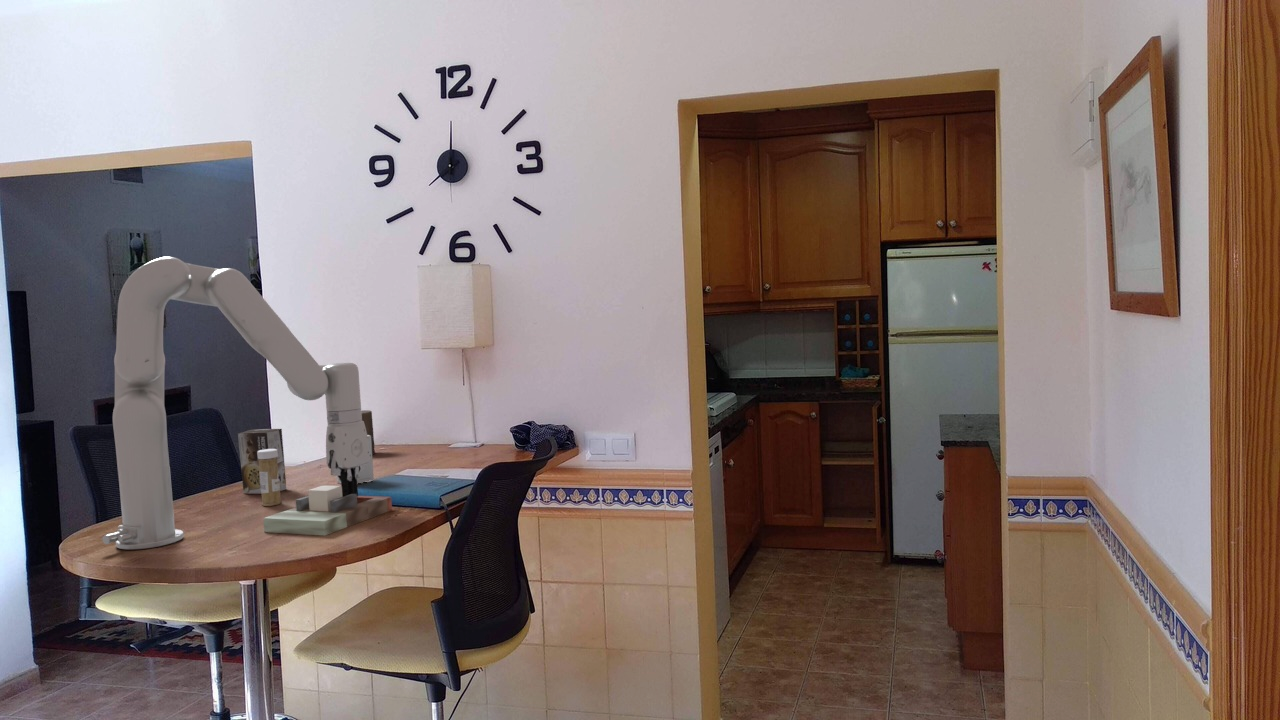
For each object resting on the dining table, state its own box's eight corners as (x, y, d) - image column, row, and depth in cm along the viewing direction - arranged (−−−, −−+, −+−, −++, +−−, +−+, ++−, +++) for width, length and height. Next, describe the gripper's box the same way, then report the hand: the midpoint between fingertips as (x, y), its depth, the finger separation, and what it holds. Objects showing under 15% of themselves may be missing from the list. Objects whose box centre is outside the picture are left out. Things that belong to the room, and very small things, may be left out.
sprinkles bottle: (283, 504, 229) (279, 449, 228) (263, 507, 226) (259, 452, 225) (279, 501, 233) (274, 447, 232) (259, 504, 230) (255, 450, 229)
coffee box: (287, 489, 249) (283, 428, 247) (272, 494, 242) (267, 432, 241) (258, 488, 251) (253, 428, 250) (241, 493, 245) (237, 432, 244)
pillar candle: (381, 453, 301) (378, 406, 301) (357, 458, 293) (354, 410, 292) (360, 452, 307) (357, 406, 306) (336, 457, 298) (333, 409, 297)
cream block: (328, 511, 205) (326, 490, 204) (309, 510, 207) (308, 490, 206) (343, 506, 209) (341, 486, 209) (324, 505, 211) (323, 485, 211)
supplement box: (348, 486, 248) (345, 438, 247) (336, 483, 254) (333, 436, 253) (374, 481, 253) (371, 435, 252) (362, 478, 258) (359, 432, 258)
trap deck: (325, 535, 196) (323, 509, 195) (264, 531, 201) (262, 506, 201) (391, 509, 217) (390, 486, 217) (335, 507, 223) (333, 484, 222)
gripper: (336, 422, 206) (342, 505, 207) (378, 413, 220) (383, 490, 221) (308, 422, 209) (314, 504, 210) (352, 413, 223) (357, 489, 224)
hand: (350, 497), depth 216 cm, fingers closed
